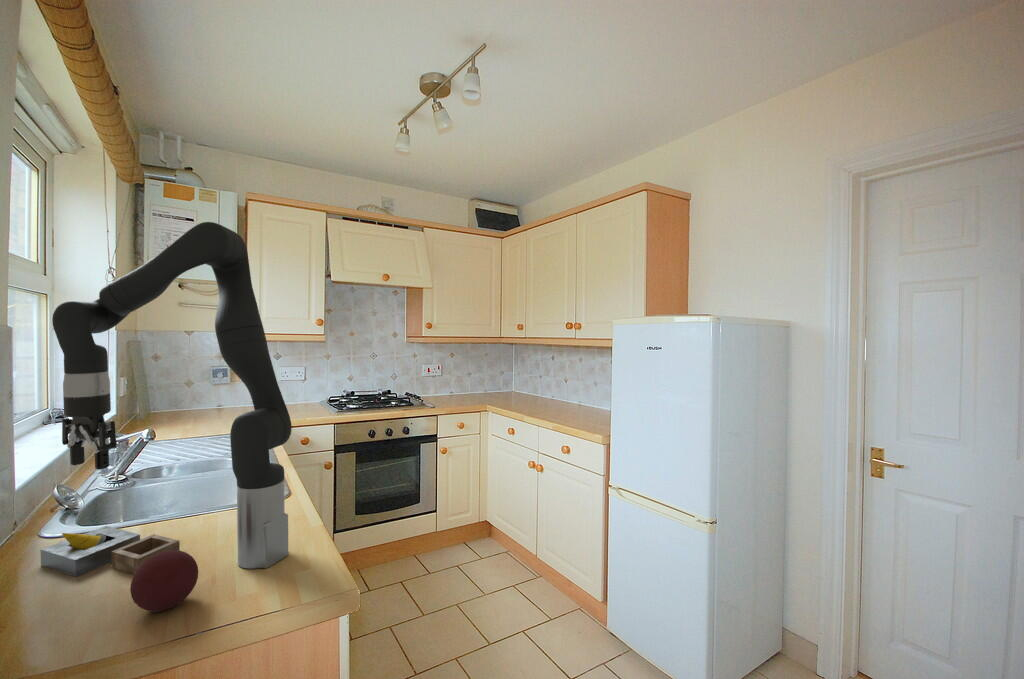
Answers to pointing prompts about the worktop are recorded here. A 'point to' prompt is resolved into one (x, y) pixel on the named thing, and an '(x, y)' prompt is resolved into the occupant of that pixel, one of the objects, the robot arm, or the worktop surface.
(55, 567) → the hub plate
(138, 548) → the wooden square frame
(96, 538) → the drill bit
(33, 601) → the worktop surface
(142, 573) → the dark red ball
